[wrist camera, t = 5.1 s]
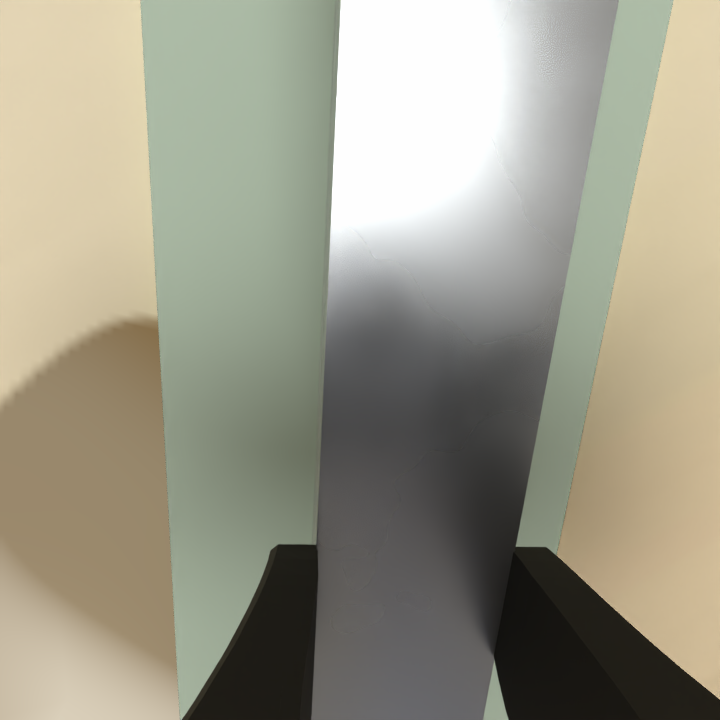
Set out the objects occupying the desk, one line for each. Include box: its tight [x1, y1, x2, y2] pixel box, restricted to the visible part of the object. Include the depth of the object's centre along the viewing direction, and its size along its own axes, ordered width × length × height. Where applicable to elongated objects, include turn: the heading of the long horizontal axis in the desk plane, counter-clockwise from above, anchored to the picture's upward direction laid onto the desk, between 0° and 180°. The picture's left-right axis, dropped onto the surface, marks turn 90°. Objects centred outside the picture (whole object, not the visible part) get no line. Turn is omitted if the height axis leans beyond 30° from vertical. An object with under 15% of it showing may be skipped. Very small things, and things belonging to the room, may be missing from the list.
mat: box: [141, 0, 673, 720], centre depth 15 cm, size 22×10×1 cm, turn 176°
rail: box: [311, 0, 619, 720], centre depth 11 cm, size 19×3×3 cm, turn 176°
